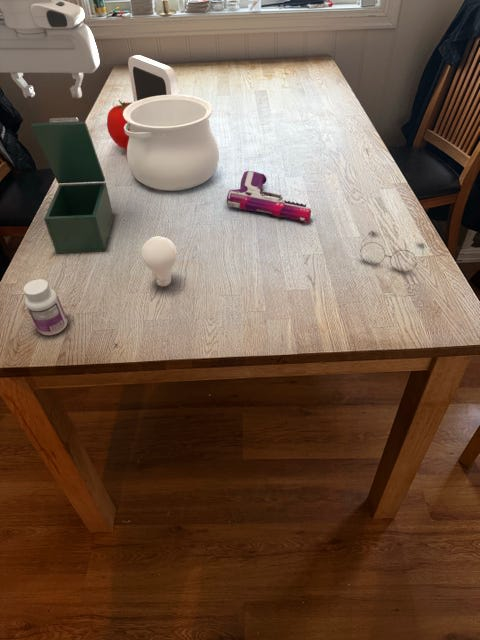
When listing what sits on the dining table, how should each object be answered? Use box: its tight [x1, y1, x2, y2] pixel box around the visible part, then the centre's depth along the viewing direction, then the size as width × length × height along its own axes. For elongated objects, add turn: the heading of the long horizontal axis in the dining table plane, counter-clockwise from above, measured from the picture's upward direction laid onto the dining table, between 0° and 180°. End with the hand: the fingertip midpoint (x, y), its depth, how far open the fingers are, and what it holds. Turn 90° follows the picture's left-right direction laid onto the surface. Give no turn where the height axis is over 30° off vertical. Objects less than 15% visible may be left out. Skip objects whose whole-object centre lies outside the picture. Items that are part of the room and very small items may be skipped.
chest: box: [43, 181, 114, 254], centre depth 101 cm, size 15×11×9 cm
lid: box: [30, 117, 106, 185], centre depth 97 cm, size 15×11×5 cm
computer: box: [127, 54, 180, 103], centre depth 132 cm, size 22×22×3 cm
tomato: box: [106, 99, 134, 151], centre depth 131 cm, size 12×12×13 cm
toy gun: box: [226, 170, 312, 223], centre depth 111 cm, size 4×22×15 cm
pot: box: [123, 94, 220, 192], centre depth 118 cm, size 26×24×17 cm
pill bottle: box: [23, 278, 68, 336], centre depth 79 cm, size 5×5×10 cm
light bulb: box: [141, 235, 178, 288], centre depth 87 cm, size 7×7×11 cm
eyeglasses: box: [359, 230, 425, 273], centre depth 95 cm, size 11×13×5 cm
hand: (53, 96), depth 87 cm, fingers open, 8 cm apart
